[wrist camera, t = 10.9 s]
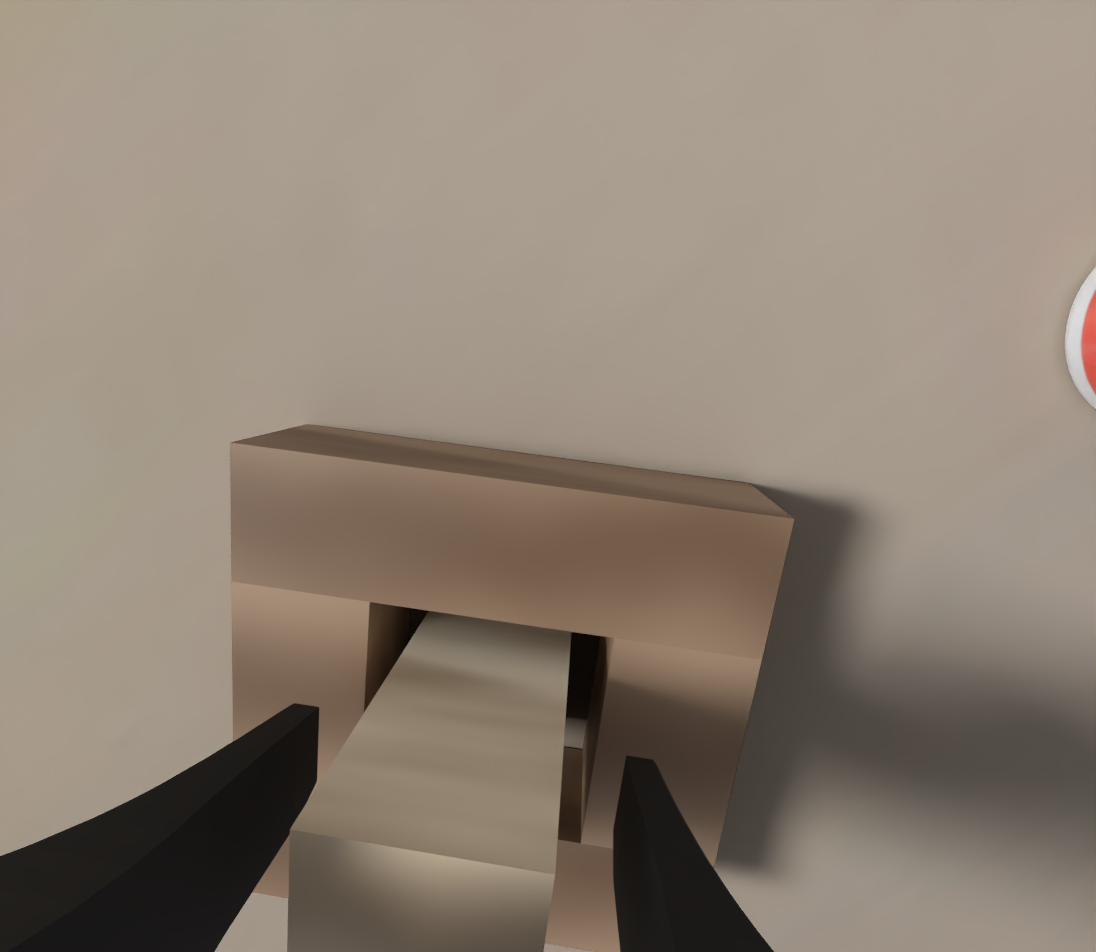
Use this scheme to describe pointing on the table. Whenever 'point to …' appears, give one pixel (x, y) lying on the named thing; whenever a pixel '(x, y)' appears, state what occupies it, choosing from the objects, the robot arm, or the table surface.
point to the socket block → (510, 610)
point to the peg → (441, 801)
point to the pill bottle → (1083, 340)
